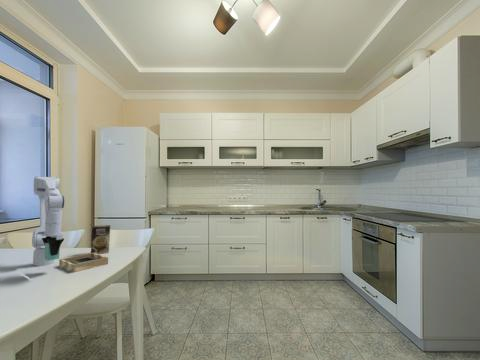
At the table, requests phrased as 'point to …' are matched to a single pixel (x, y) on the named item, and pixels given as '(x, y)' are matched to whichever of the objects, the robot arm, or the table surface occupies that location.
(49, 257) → the teal peg
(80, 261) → the frame
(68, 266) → the oak box
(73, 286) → the table surface
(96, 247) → the coffee box
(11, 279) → the table surface
